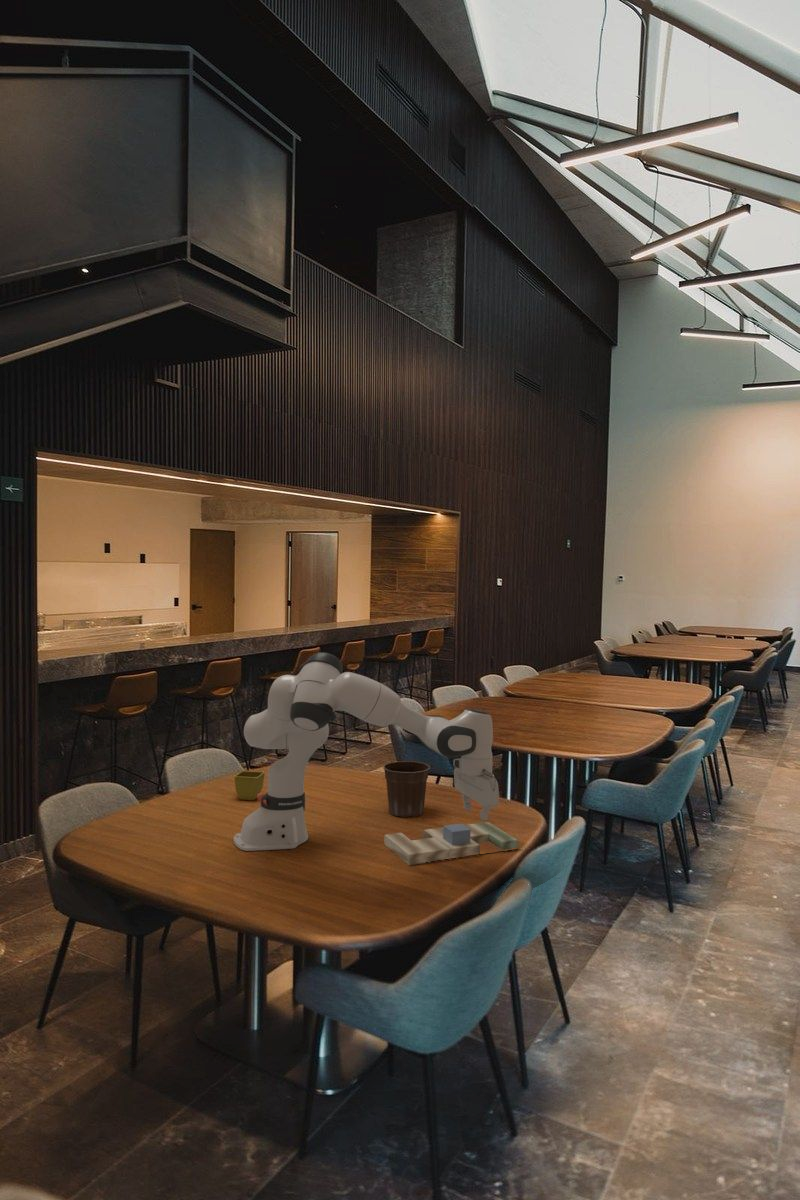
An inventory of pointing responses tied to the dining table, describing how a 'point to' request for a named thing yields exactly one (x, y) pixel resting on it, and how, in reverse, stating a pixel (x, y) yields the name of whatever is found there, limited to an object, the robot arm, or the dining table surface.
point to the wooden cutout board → (446, 844)
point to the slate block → (456, 834)
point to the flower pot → (249, 784)
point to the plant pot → (406, 787)
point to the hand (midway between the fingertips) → (475, 814)
